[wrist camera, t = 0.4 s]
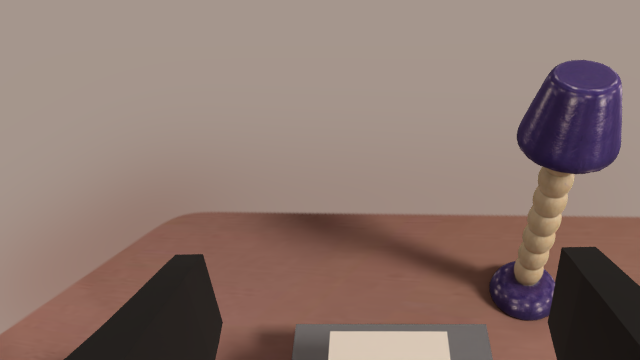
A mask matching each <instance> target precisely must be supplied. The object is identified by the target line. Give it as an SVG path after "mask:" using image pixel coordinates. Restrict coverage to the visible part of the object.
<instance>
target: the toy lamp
mask: <svg viewBox="0 0 640 360" xmlns="http://www.w3.org/2000/svg"><path fill="white" fill-rule="evenodd" d="M621 125H622V85H621V80H620V77H619V76H618V74H617V73H616V72H615V71H614V70H613V69H611V68H610V67H608V66H606V65H604V64H601V63H598V62H593V61H586V60H572V61H567V62H564V63H561V64H559V65H557V66H556V67H555V68H554V69H553V70H552V71H551V72H550V73H549V74H548V76H547V78H546V79H545V81H544V83H543V84H542V86H541V88H540V89H539V91H538V93H537V95H536V96H535V98H534V100H533V101H532V103H531V105H530V107H529V109H528V111H527V112H526V114H525V116H524V117H523V119H522V121H521V123H520V125H519V128H518V132H517V141H518V145H519V147H520V149H521V150H522V151H523V152H524V154H525V155H526V156H527V157H528V158H529V159H531V160H532V161H533V162H535V163H536V164H538V165H540V166H543V167H542V168H541V170H540V172H539V175H538V184H539V186H538V187H537V188H536V190H535V192H534V195H533V206H532V207H531V209H530V211H529V213H528V218H527V221H528V224H527V226H526V227H525V229H524V231H523V237H522V238H523V242H522V243H521V245H520V247H519V251H518V259H517V260H516V261H514V262H510V263H508V264H505V265H503V266H502V267H501V268H499V269H498V270H497V271H496V272H495V274H494V275H493V277H492V279H491V282H490V293H491V297H492V299H493V301H494V302H495V303H496V305H497V306H498V307H499V308H500V309H501V310H502V311H503V312H505V313H506V314H508V315H510V316H513V317H515V318H518V319H522V320H538V319H541V318H544V317H547V316H549V313H550V308H551V303H552V297H553V292H554V287H555V282H554V280H553V278H552V277H551V275H550V274H549V273H548V272H547V271H546V270H545V269H544V265H545V264H546V262H547V260H548V257H549V249H550V248H551V247H552V245H553V243H554V241H555V232H556V231H557V229H558V228H559V226H560V223H561V213H562V212H563V210H564V209H565V207H566V204H567V199H568V196H567V193H568V192H569V191H570V189H571V187H572V185H573V182H574V174H585V173H590V172H596V171H600V170H601V169H603V168H605V167H607V166H608V165H610V164H611V163H612V162H613V161H614V160H615V159H616V157H617V155H618V154H619V150H620V147H621Z"/></svg>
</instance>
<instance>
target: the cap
mask: <svg viewBox="0 0 640 360" xmlns="http://www.w3.org/2000/svg"><path fill="white" fill-rule="evenodd" d="M328 360H451V359H450V351H449V343H448V335H447V332H434V331H330V342H329V356H328Z"/></svg>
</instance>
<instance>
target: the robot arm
mask: <svg viewBox="0 0 640 360" xmlns="http://www.w3.org/2000/svg"><path fill="white" fill-rule="evenodd" d="M222 323H223V322H222V318H221V315H220V311H219V308H218V305H217V301H216V298H215V294H214V291H213V287H212V284H211V280H210V277H209V274H208V270H207V267H206V263H205V260H204V256H203V254H193V255H175V256H174V257H173V258H172V259H171V260H169V261H168V262H167V263H166V264H165V265H164V266H163V267H162V268H161V269H160V270H159V271H158V272H157V273H156V274H155V275H154V276H153V277H152V278H151V279H150V280H149V281H148V282H147V283H146V284H145V285H144V286H143V287H142V288H141V289H140V290H139V291H138V292H137V293H136V294H135V295H134V296H133V297H132V298H131V299H130V300H129V301H128V302H127V303H125V304H124V305H123V306H122V307H121V308H120V309H119V310H118V311H117V312H116V313H115V314H114V315H113V316H112V317H111V318H110V319H109V320H108V321H107V322H106V323H105V324H104V325H103V326H101V327H100V328H99V329H98V330H97V331H96V332H95V333H94V334H92V335H91V336H90V337H89V338H88V339H87V340H86V341H85V342H83V343H82V344H81V345H80V346H79V347H78V348H77V349H76V350H74V351H73V352H72V353H71V354H70V355H69V356H68V357H67V358H65V359H64V360H215V358H216V353H217V349H218V344H219V339H220V333H221V328H222ZM548 325H549V329H550V333H551V337H552V341H553V345H554V349H555V353H556V357H557V360H640V286H639V285H638V284H637V283H635V282H634V281H633V280H632V279H631V278H630V277H629V276H628V275H626V274H625V273H624V272H623V271H622V270H621V269H620V268H619V267H618V266H617V265H615V264H614V263H613V262H612V261H611V260H610V259H609V258H608V257H606V256H605V255H604V254H603V253H602V252H601V251H600V250H599V249H597V248H596V247H565V248H562V249H561V255H560V260H559V265H558V271H557V276H556V281H555V287H554V292H553V297H552V303H551V308H550V313H549V319H548Z"/></svg>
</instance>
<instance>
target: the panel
mask: <svg viewBox="0 0 640 360" xmlns="http://www.w3.org/2000/svg"><path fill="white" fill-rule="evenodd" d="M330 331H434V332H447V335H448V343H449V351H450V359H451V360H493V358H492V353H491V348H490V343H489V337H488V332H487V327H486V324H296V329H295V337H294V345H293V353H292V360H328V356H329V342H330Z"/></svg>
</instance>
